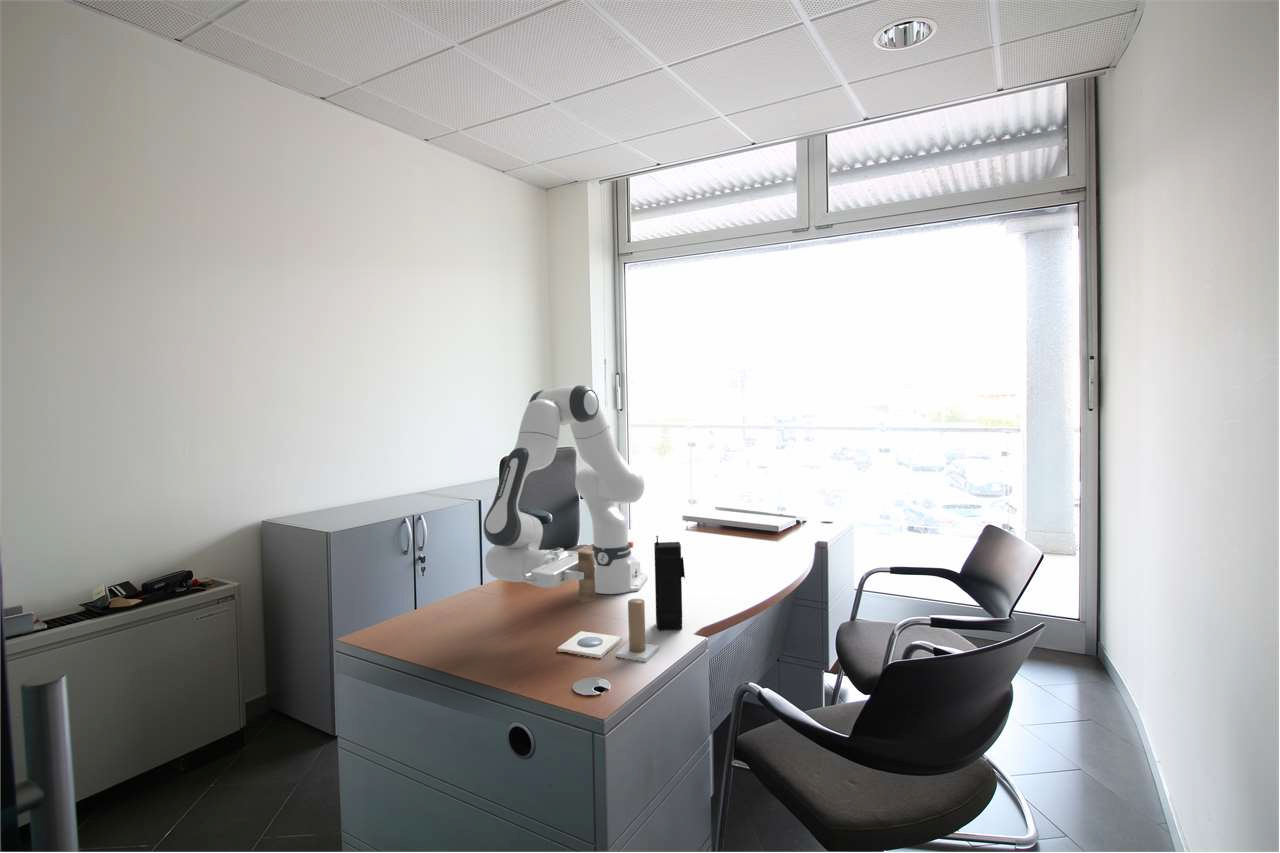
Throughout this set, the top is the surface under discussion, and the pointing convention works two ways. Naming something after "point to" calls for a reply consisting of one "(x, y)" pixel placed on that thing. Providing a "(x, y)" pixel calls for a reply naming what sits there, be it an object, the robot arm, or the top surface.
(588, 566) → the walnut pin
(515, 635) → the top surface
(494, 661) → the top surface
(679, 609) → the portable radio
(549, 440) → the robot arm
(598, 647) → the plate
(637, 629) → the tan wooden dowel
